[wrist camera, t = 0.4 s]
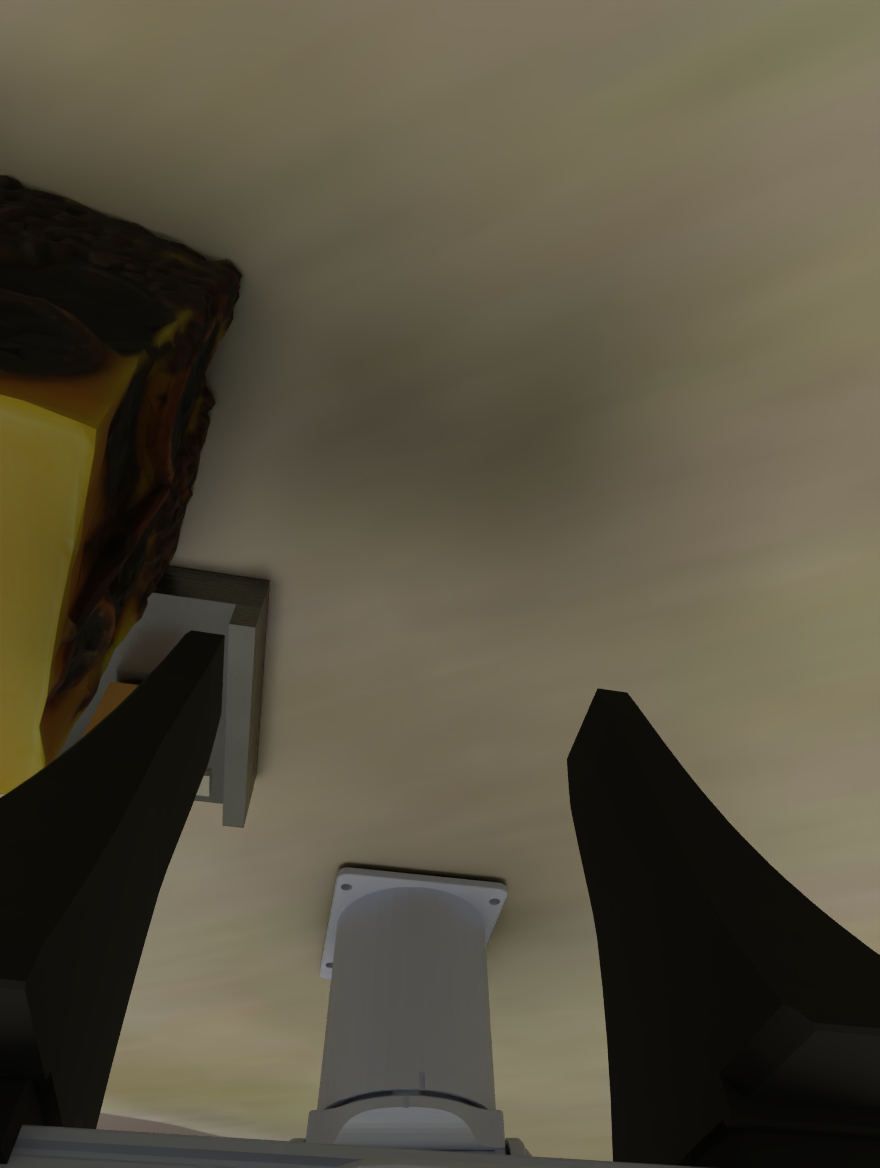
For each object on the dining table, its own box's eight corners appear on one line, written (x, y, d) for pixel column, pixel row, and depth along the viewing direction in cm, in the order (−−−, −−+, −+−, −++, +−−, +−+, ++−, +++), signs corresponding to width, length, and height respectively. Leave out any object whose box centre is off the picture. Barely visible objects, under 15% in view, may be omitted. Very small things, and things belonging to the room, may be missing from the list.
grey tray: (256, 776, 31) (243, 828, 29) (-107, 734, 29) (-148, 786, 27) (269, 581, 25) (255, 627, 23) (-181, 515, 23) (-240, 559, 21)
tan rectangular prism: (161, 736, 27) (138, 792, 25) (114, 730, 26) (88, 786, 24) (159, 687, 25) (135, 743, 23) (110, 681, 25) (81, 736, 23)
